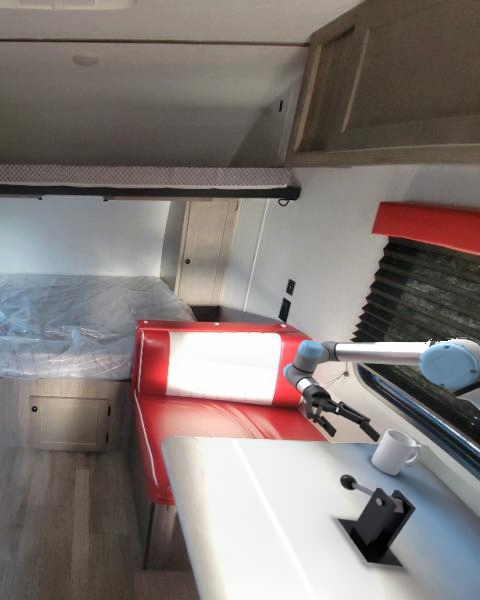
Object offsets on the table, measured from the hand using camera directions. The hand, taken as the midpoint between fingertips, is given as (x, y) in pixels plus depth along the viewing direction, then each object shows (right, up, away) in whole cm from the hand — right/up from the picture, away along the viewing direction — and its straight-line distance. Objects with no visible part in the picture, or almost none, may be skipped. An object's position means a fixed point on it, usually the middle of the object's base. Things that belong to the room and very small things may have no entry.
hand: (355, 436), depth 103 cm
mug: (+10, -10, -1) cm, 14 cm away
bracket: (-18, -16, -24) cm, 34 cm away
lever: (-16, -6, -23) cm, 29 cm away
